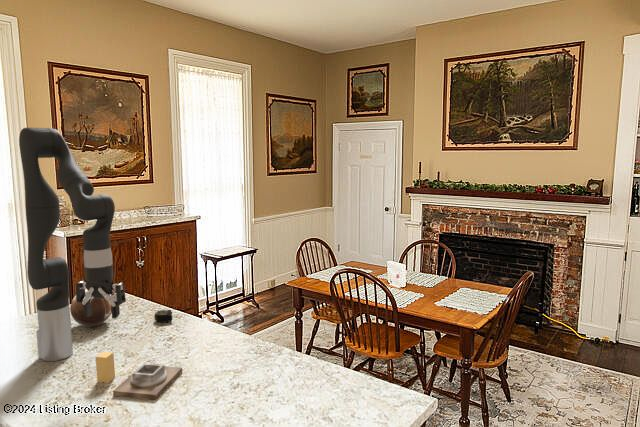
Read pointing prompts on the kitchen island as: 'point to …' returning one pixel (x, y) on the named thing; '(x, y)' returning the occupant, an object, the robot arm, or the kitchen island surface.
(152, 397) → the rosette socket
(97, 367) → the yellow rectangular block
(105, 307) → the wooden sphere
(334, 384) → the kitchen island surface
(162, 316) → the tape measure
